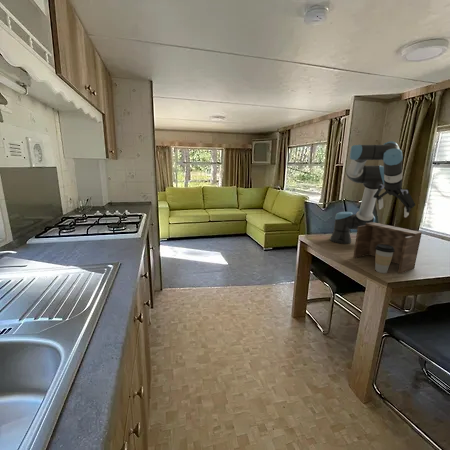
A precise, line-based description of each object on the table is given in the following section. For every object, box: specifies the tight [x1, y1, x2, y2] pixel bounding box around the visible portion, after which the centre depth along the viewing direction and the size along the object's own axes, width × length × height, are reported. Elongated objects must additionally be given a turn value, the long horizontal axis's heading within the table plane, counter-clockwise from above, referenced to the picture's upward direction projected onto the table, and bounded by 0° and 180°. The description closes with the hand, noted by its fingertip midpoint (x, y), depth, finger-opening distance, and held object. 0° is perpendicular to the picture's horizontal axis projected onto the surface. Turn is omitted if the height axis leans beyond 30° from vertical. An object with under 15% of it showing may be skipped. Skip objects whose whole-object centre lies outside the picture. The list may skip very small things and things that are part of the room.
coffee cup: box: [374, 244, 395, 274], centre depth 143 cm, size 9×9×15 cm
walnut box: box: [352, 221, 423, 274], centre depth 155 cm, size 28×16×22 cm, turn 30°
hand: (393, 211), depth 138 cm, fingers open, 13 cm apart
